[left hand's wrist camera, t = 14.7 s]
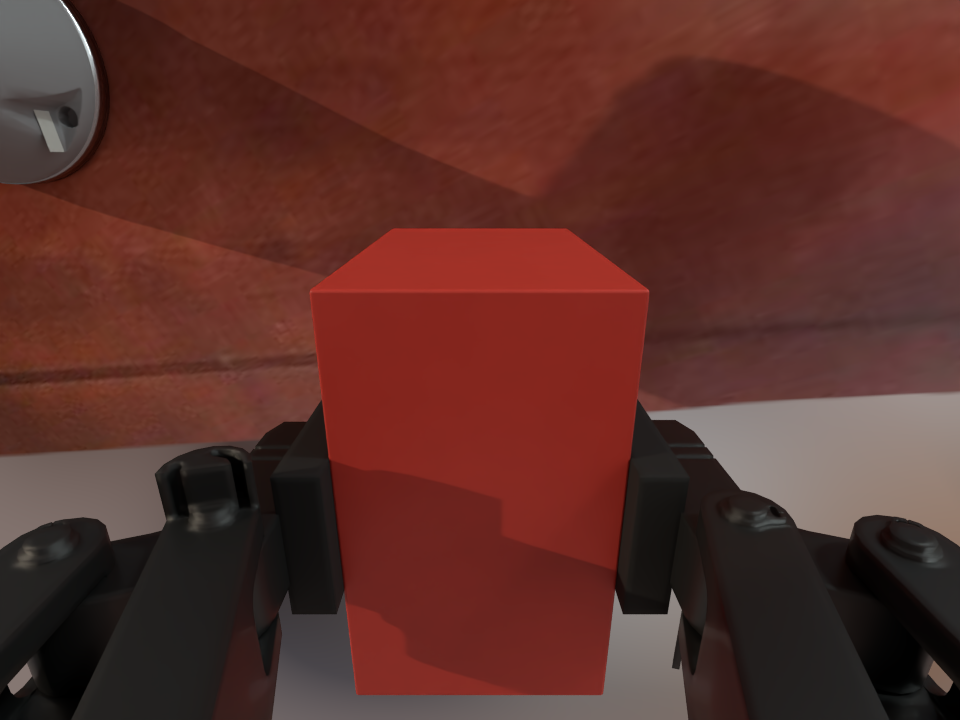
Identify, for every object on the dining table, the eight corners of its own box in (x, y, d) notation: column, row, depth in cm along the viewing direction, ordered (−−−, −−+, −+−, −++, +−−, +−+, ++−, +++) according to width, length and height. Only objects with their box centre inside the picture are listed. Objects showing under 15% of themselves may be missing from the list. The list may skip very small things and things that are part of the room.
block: (553, 479, 17) (603, 696, 10) (406, 479, 17) (355, 695, 10) (567, 228, 14) (651, 289, 7) (391, 228, 14) (307, 289, 7)
